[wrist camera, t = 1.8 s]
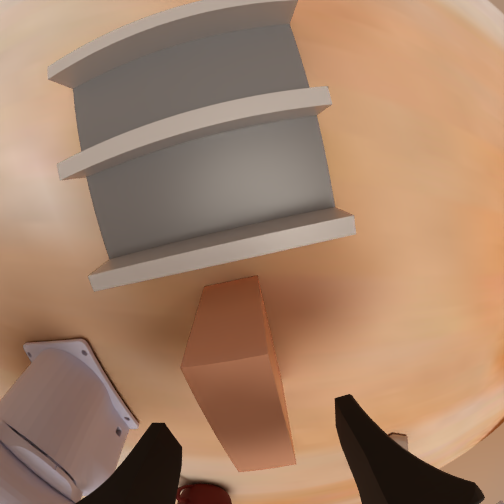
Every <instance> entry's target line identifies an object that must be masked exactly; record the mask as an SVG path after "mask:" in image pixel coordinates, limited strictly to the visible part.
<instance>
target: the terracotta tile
mask: <svg viewBox="0 0 504 504" xmlns="http://www.w3.org/2000/svg"><path fill="white" fill-rule="evenodd" d="M181 370H182V372H183V374H184V376H185V378H186V380H187V383H188V385H189V387H190V389H191V390H192V392H193V394H194V396H195V398H196V400H197V402H198V404H199V406H200V408H201V410H202V411H203V413H204V415H205V417H206V419H207V421H208V422H209V424H210V426H211V428H212V429H213V431H214V433H215V435H216V436H217V438H218V440H219V441H220V443H221V445H222V446H223V448H224V450H225V451H226V453H227V454H228V456H229V458H230V459H231V461H232V462H233V464H234V465H235V467H236V468H237V470H238V472H245V471H254V470H263V469H270V468H276V467H283V466H288V465H294V464H296V459H295V453H294V447H293V441H292V436H291V430H290V424H289V418H288V413H287V407H286V401H285V396H284V390H283V384H282V379H281V375H280V370H279V366H278V362H277V358H276V353H275V349H274V345H273V340H272V336H271V332H270V327H269V323H268V319H267V314H266V310H265V306H264V302H263V297H262V293H261V289H260V284H259V280H258V276H252V277H248V278H243V279H238V280H234V281H229V282H224V283H220V284H215V285H210V286H205V287H204V290H203V293H202V296H201V299H200V303H199V306H198V309H197V313H196V316H195V319H194V323H193V326H192V329H191V333H190V336H189V340H188V343H187V347H186V350H185V354H184V357H183V361H182V364H181Z"/></svg>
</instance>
